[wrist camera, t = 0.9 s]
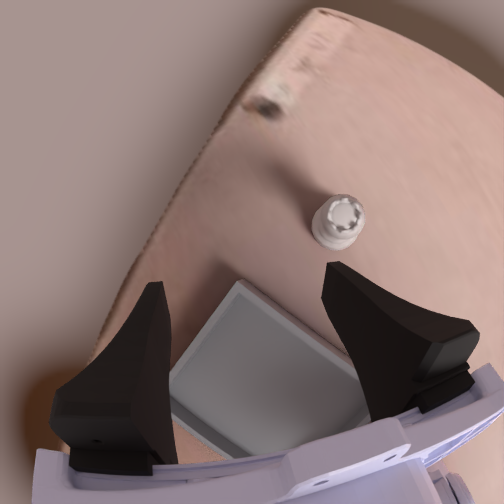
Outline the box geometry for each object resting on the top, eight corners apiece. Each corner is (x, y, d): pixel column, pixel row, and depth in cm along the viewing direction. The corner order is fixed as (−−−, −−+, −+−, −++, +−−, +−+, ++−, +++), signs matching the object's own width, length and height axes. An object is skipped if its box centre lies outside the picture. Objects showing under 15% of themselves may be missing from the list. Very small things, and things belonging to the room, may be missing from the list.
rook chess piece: (327, 259, 28) (334, 260, 20) (302, 218, 28) (299, 203, 21) (366, 234, 27) (388, 226, 19) (341, 194, 28) (353, 171, 20)
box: (386, 384, 26) (393, 396, 23) (287, 478, 28) (284, 493, 25) (244, 278, 29) (236, 280, 26) (161, 389, 31) (149, 400, 28)
